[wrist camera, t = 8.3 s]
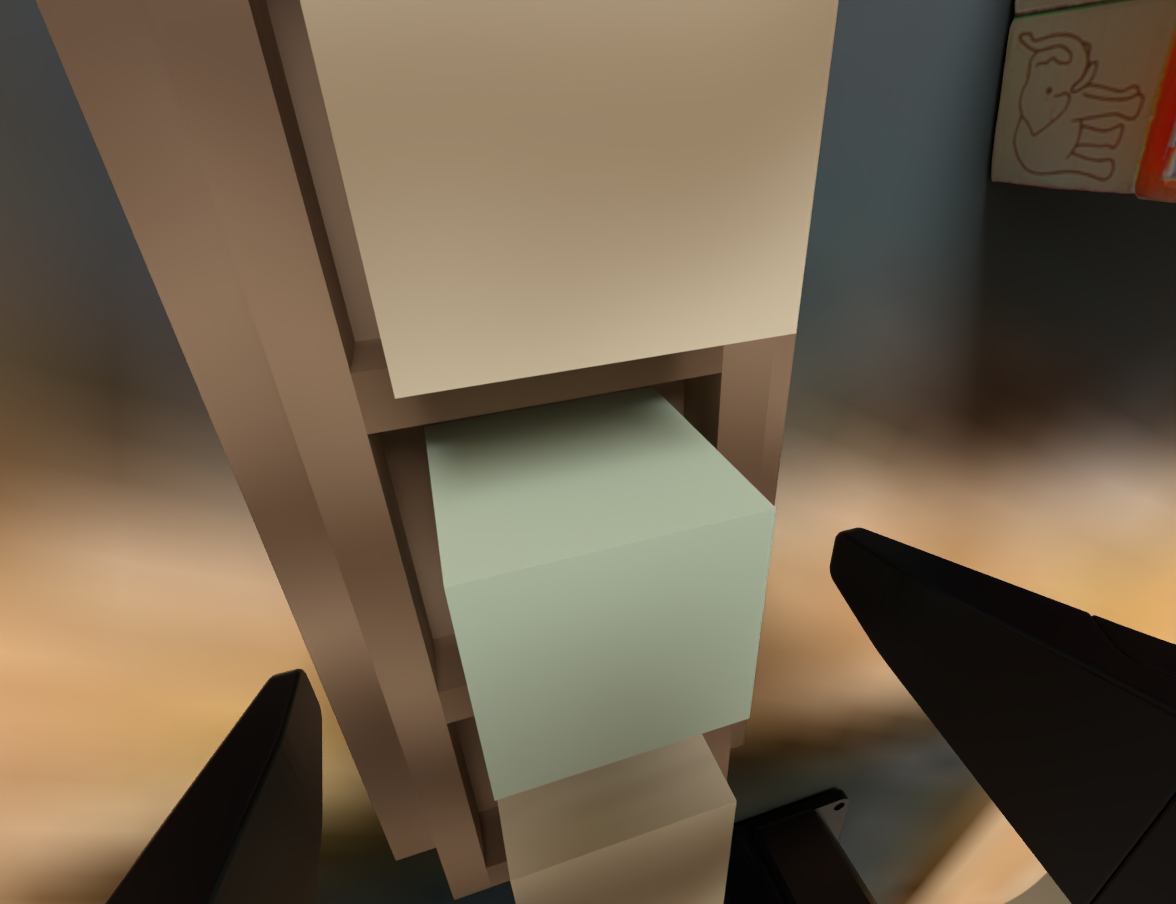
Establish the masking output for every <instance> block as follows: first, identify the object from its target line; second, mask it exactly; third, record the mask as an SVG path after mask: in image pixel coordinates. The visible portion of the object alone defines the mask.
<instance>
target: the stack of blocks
mask: <svg viewBox="0 0 1176 904" xmlns="http://www.w3.org/2000/svg"><path fill="white" fill-rule="evenodd" d="M991 179H992V181H993V182H1006V183H1013V184H1020V185H1029V186H1037V187H1045V188H1053V189H1065V190H1083V191H1093V192H1112V193H1120V194H1135V195H1136V196H1137V198H1138V199H1145V200H1153V201H1162V202H1171V203H1176V0H1015V17H1014V20H1013V22H1012V24H1011V27H1010V30H1009V37H1008V43H1007V52H1006V60H1005V67H1004V73H1003V81H1002V90H1001V98H1000V104H999V111H998V117H997V124H996V130H995V139H994V147H993V156H992V168H991Z"/></svg>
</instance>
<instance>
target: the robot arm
mask: <svg viewBox="0 0 1176 904" xmlns="http://www.w3.org/2000/svg"><path fill="white" fill-rule="evenodd" d="M830 573H831V577H832V579H833V581H834V583H835V584H836V586H837V588H838V589H839V591H840V592H841V594H842V596H843V597H844V599H845V600H846V602H847V604H848V605H849V607H850V608H851V610H852V612H853V613H854V615H855V616H856V618H857V620H858V621H859V623H860V624H861V626H862V628H863V629H864V631H865V632H866V634H867V636H868V637H869V639H870V640H871V642H872V643H873V645H874V646H875V648H876V649H877V651H878V652H879V654H880V655H881V656H882V658H883V659H884V660H885V662H886V663H887V664H888V666H889V667H890V668H891V670H892V671H893V672H894V674H895V675H896V676H897V677H898V679H899V680H900V681H901V683H902V684H903V685H904V687H905V688H906V689H907V690H908V692H909V693H910V694H911V696H912V697H913V698H914V700H915V701H916V702H917V703H918V705H919V706H920V707H921V709H922V710H923V711H924V713H925V714H926V715H927V716H928V718H929V719H930V720H931V722H932V723H933V724H934V725H935V727H936V728H937V729H938V731H939V732H940V733H941V735H942V736H943V737H944V738H945V740H946V741H947V742H948V744H949V745H950V746H951V748H952V749H953V750H954V751H955V753H956V754H957V755H958V757H959V758H960V759H961V761H962V762H963V763H964V764H965V766H966V767H967V768H968V770H969V771H970V772H971V774H972V775H973V776H974V777H975V779H976V780H977V781H978V783H979V784H980V785H981V787H982V788H983V789H984V790H985V792H986V793H987V794H988V796H989V797H990V798H991V800H992V801H993V802H994V803H995V805H996V806H997V807H998V809H999V810H1000V811H1001V812H1002V814H1003V815H1004V816H1005V818H1006V819H1007V820H1008V822H1009V823H1010V824H1011V825H1012V827H1013V828H1014V829H1015V831H1016V832H1017V833H1018V835H1019V836H1020V837H1021V838H1022V840H1023V841H1024V842H1025V844H1026V845H1027V846H1028V848H1029V849H1030V850H1031V851H1032V853H1033V854H1034V855H1035V857H1036V858H1037V859H1038V861H1039V862H1040V863H1041V864H1042V866H1043V867H1044V868H1045V870H1046V871H1047V872H1048V873H1049V875H1050V876H1051V877H1052V879H1053V880H1054V881H1055V883H1056V884H1057V885H1058V886H1059V888H1060V889H1061V890H1062V892H1063V893H1064V894H1065V895H1066V897H1067V898H1068V899H1069V901H1070V902H1071V903H1072V904H1176V645H1175V644H1172V643H1169V642H1166V641H1164V640H1161V639H1158V638H1155V637H1152V636H1150V635H1147V634H1144V633H1141V632H1139V631H1136V630H1133V629H1130V628H1128V627H1125V626H1122V625H1119V624H1117V623H1114V622H1111V621H1109V620H1106V619H1104V618H1101V617H1098V616H1095V615H1093V616H1091V615H1090V614H1089V613H1087V612H1085V611H1082V610H1079V609H1077V608H1074V607H1071V606H1069V605H1066V604H1063V603H1061V602H1058V601H1055V600H1053V599H1050V598H1047V597H1045V596H1042V595H1039V594H1037V593H1034V592H1031V591H1029V590H1026V589H1023V588H1021V587H1018V586H1015V585H1013V584H1010V583H1007V582H1005V581H1002V580H999V579H997V578H994V577H991V576H989V575H986V574H983V573H981V572H978V571H975V570H973V569H970V568H967V567H965V566H962V565H959V564H957V563H954V562H951V561H949V560H946V559H943V558H941V557H938V556H935V555H933V554H930V553H927V552H925V551H922V550H919V549H917V548H914V547H911V546H909V545H906V544H903V543H901V542H898V541H895V540H893V539H890V538H887V537H885V536H882V535H879V534H877V533H874V532H871V531H869V530H866V529H863V528H854V529H850V530H846V531H842V532H840V533H838V535H837V536H836V538H835V542H834V547H833V552H832V557H831V563H830ZM849 803H850V800H849V799H848V797H847V796H846V794H845V793H844V791H842V790H835V791H832V792H829V793H827V794H824V795H821V796H818V797H816V798H813V799H810V800H808V801H805V802H802V803H799V804H797V805H794V806H791V807H788V808H786V809H783V810H780V811H778V812H775V813H772V814H769V815H767V816H764V817H761V818H758V819H756V820H753V821H750V822H747V823H745V824H742V825H739V826H737V827H734V828H733V833H732V840H731V848H730V856H729V864H728V872H727V880H726V888H725V895H724V903H723V904H877V903H876V901H875V899H874V898H873V896H872V895H871V893H870V891H869V890H868V888H867V887H866V885H865V883H864V882H863V880H862V879H861V877H860V876H859V874H858V872H857V871H856V869H855V868H854V866H853V864H852V863H851V861H850V860H849V858H848V856H847V855H846V853H845V852H844V850H843V849H842V847H841V845H840V844H839V842H838V840H839V837H840V834H841V830H842V827H843V823H844V820H845V817H846V813H847V810H848V807H849ZM321 833H322V716H321V709H320V705H319V702H318V700H317V698H316V695H315V693H314V691H313V688H312V686H311V684H310V681H309V679H308V677H307V675H306V673H305V672H304V671H303V670H302V669H295V670H291V671H287V672H283V673H279V674H276V675H273V676H272V677H271V678H270V679H269V680H268V681H267V682H266V684H265V685H264V686H263V688H262V689H261V690H260V692H259V693H258V694H257V696H256V697H255V699H254V700H253V701H252V703H251V704H250V705H249V707H248V708H247V709H246V711H245V712H244V714H243V715H242V716H241V718H240V719H239V720H238V722H237V723H236V724H235V726H234V727H233V728H232V730H231V731H230V733H229V734H228V735H227V737H226V738H225V739H224V741H223V742H222V743H221V745H220V746H219V748H218V749H217V750H216V752H215V753H214V754H213V756H212V757H211V758H210V760H209V761H208V763H207V764H206V765H205V767H204V768H203V769H202V771H201V772H200V773H199V775H198V776H197V777H196V779H195V780H194V782H193V783H192V784H191V786H190V787H189V788H188V790H187V791H186V792H185V794H184V795H183V797H182V798H181V799H180V801H179V802H178V803H177V805H176V806H175V807H174V809H173V810H172V812H171V813H170V814H169V816H168V817H167V818H166V820H165V821H164V822H163V824H162V825H161V827H160V828H159V829H158V831H157V832H156V833H155V835H154V836H153V837H152V839H151V840H150V841H149V843H148V844H147V846H146V847H145V848H144V850H143V851H142V852H141V854H140V855H139V856H138V858H137V859H136V861H135V862H134V863H133V865H132V866H131V867H130V869H129V870H128V871H127V873H126V874H125V876H124V877H123V878H122V880H121V881H120V882H119V884H118V885H117V886H116V888H115V889H114V890H113V892H112V893H111V895H110V896H109V897H108V899H107V900H106V901H105V903H104V904H314V900H315V890H316V881H317V872H318V863H319V854H320V845H321Z"/></svg>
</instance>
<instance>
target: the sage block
mask: <svg viewBox="0 0 1176 904" xmlns="http://www.w3.org/2000/svg"><path fill="white" fill-rule="evenodd" d="M424 430H425V439H426V447H427V455H428V463H429V471H430V479H431V487H432V495H433V503H434V511H435V519H436V528H437V536H438V544H439V552H440V560H441V568H442V576H443V584H444V590H445V594H446V598H447V603H448V607H449V611H450V615H451V620H452V624H453V628H454V632H455V636H456V641H457V645H458V649H459V653H460V657H461V662H462V666H463V670H464V674H465V678H466V683H467V687H468V691H469V695H470V700H471V704H472V708H473V712H474V716H475V721H476V725H477V729H478V733H479V737H480V742H481V746H482V750H483V754H484V758H485V763H486V767H487V771H488V775H489V780H490V784H491V788H492V792H493V796H494V801H496V800H499V799H502V798H505V797H508V796H511V795H514V794H517V793H520V792H523V791H526V790H530V789H533V788H536V787H539V786H542V785H545V784H548V783H551V782H554V781H557V780H560V779H564V778H567V777H570V776H573V775H576V774H579V773H582V772H585V771H588V770H591V769H594V768H598V767H601V766H604V765H607V764H610V763H613V762H616V761H619V760H622V759H625V758H628V757H631V756H635V755H638V754H641V753H644V752H647V751H650V750H653V749H656V748H659V747H662V746H665V745H669V744H672V743H675V742H678V741H681V740H684V739H687V738H690V737H693V736H696V735H699V734H703V733H706V732H709V731H712V730H715V729H718V728H721V727H724V726H727V725H730V724H733V723H737V722H740V721H743V720H746V719H749V718H750V710H751V703H752V695H753V687H754V679H755V671H756V664H757V656H758V648H759V640H760V632H761V625H762V617H763V609H764V601H765V593H766V586H767V578H768V570H769V562H770V554H771V547H772V539H773V531H774V523H775V515H776V508H775V507H774V506H773V505H772V504H771V503H770V502H769V501H768V500H767V499H766V498H765V497H764V496H763V495H762V494H761V493H760V492H759V491H758V490H757V489H756V488H755V487H754V486H753V485H752V484H751V483H750V482H749V481H748V480H747V479H746V478H745V477H744V476H743V475H742V474H741V473H740V472H739V471H738V470H737V469H736V468H735V467H734V466H733V465H732V464H731V463H730V462H729V461H728V460H727V459H726V458H725V457H724V456H723V455H722V454H721V453H720V452H719V451H718V450H717V449H716V448H715V447H714V446H712V445H711V444H710V443H709V442H708V441H707V440H706V439H705V438H704V437H703V436H702V435H701V434H700V433H699V432H698V431H697V430H696V429H695V428H694V427H693V426H692V425H691V424H690V423H689V422H688V421H687V420H686V419H685V418H684V417H683V416H682V415H681V414H680V413H679V412H678V411H677V410H676V409H675V408H674V407H673V406H672V405H671V404H670V403H669V402H668V401H667V400H666V399H665V398H664V397H663V396H662V395H661V394H660V393H659V392H658V391H657V390H656V389H655V388H654V387H653V386H650V387H644V388H638V389H633V390H627V391H621V392H616V393H610V394H604V395H599V396H593V397H587V398H582V399H576V400H570V401H565V402H559V403H553V404H548V405H542V406H537V407H531V408H525V409H520V410H514V411H508V412H503V413H497V414H491V415H486V416H480V417H474V418H469V419H463V420H457V421H452V422H446V423H440V424H435V425H429V426H424Z"/></svg>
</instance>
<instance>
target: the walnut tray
mask: <svg viewBox="0 0 1176 904" xmlns="http://www.w3.org/2000/svg"><path fill="white" fill-rule="evenodd" d="M36 2H37V5H38V7H39V9H40V12H41V14H42V16H43V19H44V21H45V24H46V26H47V28H48V31H49V33H50V36H51V38H52V40H53V43H54V45H55V48H56V50H57V52H58V55H59V57H60V59H61V62H62V64H63V67H64V69H65V71H66V74H67V76H68V79H69V81H70V83H71V86H72V88H73V91H74V93H75V95H76V98H77V100H78V102H79V105H80V107H81V110H82V112H83V114H84V117H85V119H86V122H87V124H88V126H89V129H90V131H91V134H92V136H93V138H94V141H95V143H96V145H97V148H98V150H99V153H100V155H101V157H102V160H103V162H104V165H105V167H106V169H107V172H108V174H109V177H110V179H111V181H112V184H113V186H114V188H115V191H116V193H117V196H118V198H119V200H120V203H121V205H122V208H123V210H124V212H125V215H126V217H127V220H128V222H129V224H130V227H131V229H132V231H133V234H134V236H135V239H136V241H137V243H138V246H139V248H140V251H141V253H142V255H143V258H144V260H145V263H146V265H147V267H148V270H149V272H150V274H151V277H152V279H153V282H154V284H155V286H156V289H157V291H158V294H159V296H160V298H161V301H162V303H163V306H164V308H165V310H166V313H167V315H168V317H169V320H170V322H171V325H172V327H173V329H174V332H175V334H176V337H177V339H178V341H179V344H180V346H181V349H182V351H183V353H184V356H185V358H186V360H187V363H188V365H189V368H190V370H191V372H192V375H193V377H194V380H195V382H196V384H197V387H198V389H199V392H200V394H201V396H202V399H203V401H204V403H205V406H206V408H207V411H208V413H209V415H210V418H211V420H212V423H213V425H214V427H215V430H216V432H217V434H218V437H219V439H220V442H221V444H222V446H223V449H224V451H225V454H226V456H227V458H228V461H229V463H230V466H231V468H232V470H233V473H234V475H235V477H236V480H237V482H238V485H239V487H240V489H241V492H242V494H243V497H244V499H245V501H246V504H247V506H248V509H249V511H250V513H251V516H252V518H253V520H254V523H255V525H256V528H257V530H258V532H259V535H260V537H261V540H262V542H263V544H264V547H265V549H266V552H267V554H268V556H269V559H270V561H271V563H272V566H273V568H274V571H275V573H276V575H277V578H278V580H279V583H280V585H281V587H282V590H283V592H284V595H285V597H286V599H287V602H288V604H289V606H290V609H291V611H292V614H293V616H294V618H295V621H296V623H297V626H298V628H299V630H300V633H301V635H302V638H303V640H304V642H305V645H306V647H307V649H308V652H309V654H310V657H311V659H312V661H313V664H314V666H315V669H316V671H317V673H318V676H319V678H320V681H321V683H322V685H323V688H324V690H325V692H326V695H327V697H328V700H329V702H330V704H331V707H332V709H333V712H334V714H335V716H336V719H337V721H338V724H339V726H340V728H341V731H342V733H343V735H344V738H345V740H346V743H347V745H348V747H349V750H350V752H351V755H352V757H353V759H354V762H355V764H356V767H357V769H358V771H359V774H360V776H361V778H362V781H363V783H364V786H365V788H366V790H367V793H368V795H369V798H370V800H371V802H372V805H373V807H374V810H375V812H376V814H377V817H378V819H379V821H380V824H381V826H382V829H383V831H384V833H385V836H386V838H387V841H388V843H389V845H390V848H391V850H392V853H393V855H394V857H395V860H396V861H397V860H400V859H403V858H406V857H409V856H412V855H415V854H418V853H421V852H424V851H427V850H430V849H433V848H436V849H437V852H438V855H439V857H440V860H441V863H442V866H443V869H444V872H445V875H446V878H447V881H448V884H449V886H450V889H451V892H452V895H453V898H454V900H456V899H459V898H462V897H465V896H468V895H470V894H473V893H476V892H479V891H482V890H484V889H487V888H490V887H493V886H496V885H499V884H501V883H504V882H507V881H510V876H509V870H508V863H507V857H506V851H505V845H504V839H503V833H502V827H501V821H500V815H499V808H498V802H497V800H496V801H494V796H493V792H492V788H491V784H490V780H489V775H488V771H487V767H486V763H485V758H484V754H483V750H482V746H481V742H480V737H479V733H478V729H477V725H476V721H475V716H474V712H473V708H472V704H471V700H470V695H469V691H468V687H467V683H466V678H465V674H464V670H463V666H462V662H461V657H460V653H459V649H458V645H457V641H456V636H455V632H454V628H453V624H452V620H451V615H450V611H449V607H448V603H447V598H446V594H445V590H444V584H443V576H442V568H441V560H440V552H439V544H438V536H437V528H436V519H435V511H434V503H433V495H432V487H431V479H430V471H429V463H428V455H427V447H426V439H425V430H424V426H429V425H435V424H440V423H446V422H452V421H457V420H463V419H469V418H474V417H480V416H486V415H491V414H497V413H503V412H508V411H514V410H520V409H525V408H531V407H537V406H542V405H548V404H553V403H559V402H565V401H570V400H576V399H582V398H587V397H593V396H599V395H604V394H610V393H616V392H621V391H627V390H633V389H638V388H644V387H650V386H653V387H654V388H655V389H656V390H657V391H658V392H659V393H660V394H661V395H662V396H663V397H664V398H665V399H666V400H667V401H668V402H669V403H670V404H671V405H672V406H673V407H674V408H675V409H676V410H677V411H678V412H679V413H680V414H681V415H682V416H683V417H684V418H685V419H686V420H687V421H688V422H689V423H690V424H691V425H692V426H693V427H694V428H695V429H696V430H697V431H698V432H699V433H700V434H701V435H702V436H703V437H704V438H705V439H706V440H707V441H708V442H709V443H710V444H711V445H712V446H714V447H715V448H716V449H717V450H718V451H719V452H720V453H721V454H722V455H723V456H724V457H725V458H726V459H727V460H728V461H729V462H730V463H731V464H732V465H733V466H734V467H735V468H736V469H737V470H738V471H739V472H740V473H741V474H742V475H743V476H744V477H745V478H746V479H747V480H748V481H749V482H750V483H751V484H752V485H753V486H754V487H755V488H756V489H757V490H758V491H759V492H760V493H761V494H762V495H763V496H764V497H765V498H766V499H767V500H768V501H769V502H770V503H771V504H772V505H773V506H774V504H775V496H776V488H777V480H778V472H779V465H780V457H781V449H782V441H783V433H784V425H785V418H786V410H787V402H788V394H789V386H790V378H791V370H792V363H793V355H794V347H795V339H796V333H795V334H789V335H783V336H777V337H771V338H764V339H758V340H752V341H746V342H740V343H734V344H728V345H722V346H715V347H709V348H703V349H697V350H691V351H685V352H679V353H672V354H666V355H660V356H654V357H648V358H642V359H636V360H630V361H623V362H617V363H611V364H605V365H599V366H593V367H587V368H580V369H574V370H568V371H562V372H556V373H550V374H544V375H538V376H531V377H525V378H519V379H513V380H507V381H501V382H495V383H488V384H482V385H476V386H470V387H464V388H458V389H452V390H446V391H439V392H433V393H427V394H421V395H415V396H409V397H403V398H396V399H395V396H394V392H393V388H392V384H391V379H390V375H389V371H388V367H387V363H386V358H385V354H384V350H383V346H382V342H381V338H380V333H379V329H378V325H377V321H376V317H375V312H374V308H373V304H372V300H371V296H370V292H369V287H368V283H367V279H366V275H365V271H364V266H363V262H362V258H361V254H360V250H359V246H358V241H357V237H356V233H355V229H354V225H353V220H352V216H351V212H350V208H349V204H348V199H347V195H346V191H345V187H344V183H343V179H342V174H341V170H340V166H339V162H338V158H337V153H336V149H335V145H334V141H333V137H332V133H331V128H330V124H329V120H328V116H327V112H326V107H325V103H324V99H323V95H322V91H321V86H320V82H319V78H318V74H317V70H316V66H315V61H314V57H313V53H312V49H311V45H310V40H309V36H308V32H307V28H306V24H305V20H304V15H303V11H302V7H301V3H300V0H36ZM838 2H839V0H838ZM837 10H838V8H837ZM836 17H837V16H836ZM835 25H836V24H835ZM834 33H835V32H834ZM833 41H834V40H833ZM832 49H833V47H832ZM831 57H832V55H831ZM830 65H831V63H830ZM829 72H830V71H829ZM828 80H829V79H828ZM827 88H828V87H827ZM826 96H827V95H826ZM825 104H826V102H825ZM824 112H825V110H824ZM823 119H824V118H823ZM822 127H823V126H822ZM821 135H822V134H821ZM820 143H821V142H820ZM819 151H820V150H819ZM818 159H819V157H818ZM817 167H818V165H817ZM816 174H817V173H816ZM815 182H816V181H815ZM814 190H815V189H814ZM813 198H814V197H813ZM812 206H813V205H812ZM811 214H812V212H811ZM810 221H811V220H810ZM809 229H810V228H809ZM808 237H809V236H808ZM807 245H808V244H807ZM806 253H807V252H806ZM805 261H806V259H805ZM804 268H805V267H804ZM803 276H804V275H803ZM802 284H803V283H802ZM801 292H802V291H801ZM800 300H801V299H800ZM799 308H800V307H799ZM798 316H799V314H798ZM797 323H798V322H797ZM796 331H797V330H796ZM746 723H747V719H746V720H743V721H740V722H737V723H733V724H730V725H727V726H724V727H721V728H718V729H715V730H712V731H709V732H706V733H703V734H702V735H703V737H704V739H705V741H706V743H707V745H708V747H709V749H710V750H711V752H712V754H713V756H714V758H715V760H716V762H717V764H718V766H719V768H720V770H721V772H722V774H723V776H724V777H725V779H726V781H727V774H728V765H729V756H730V749H733V748H736V747H739V746H742V745H744V739H745V731H746Z"/></svg>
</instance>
